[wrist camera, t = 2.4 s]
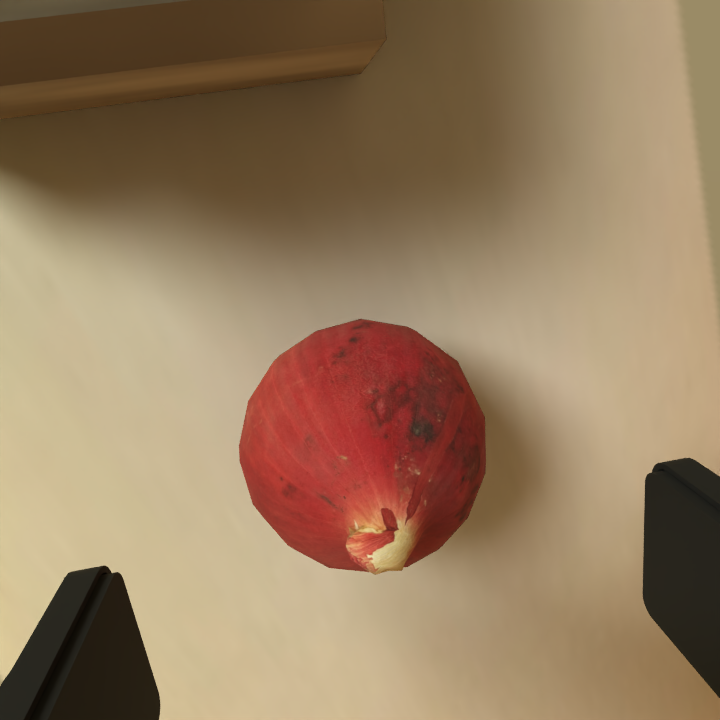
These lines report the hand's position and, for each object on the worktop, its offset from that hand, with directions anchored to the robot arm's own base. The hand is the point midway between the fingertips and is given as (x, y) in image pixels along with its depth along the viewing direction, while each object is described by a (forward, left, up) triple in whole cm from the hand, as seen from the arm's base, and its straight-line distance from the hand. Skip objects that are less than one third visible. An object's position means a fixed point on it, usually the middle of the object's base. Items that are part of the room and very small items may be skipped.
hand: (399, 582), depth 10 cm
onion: (-1, 0, -8) cm, 8 cm away
